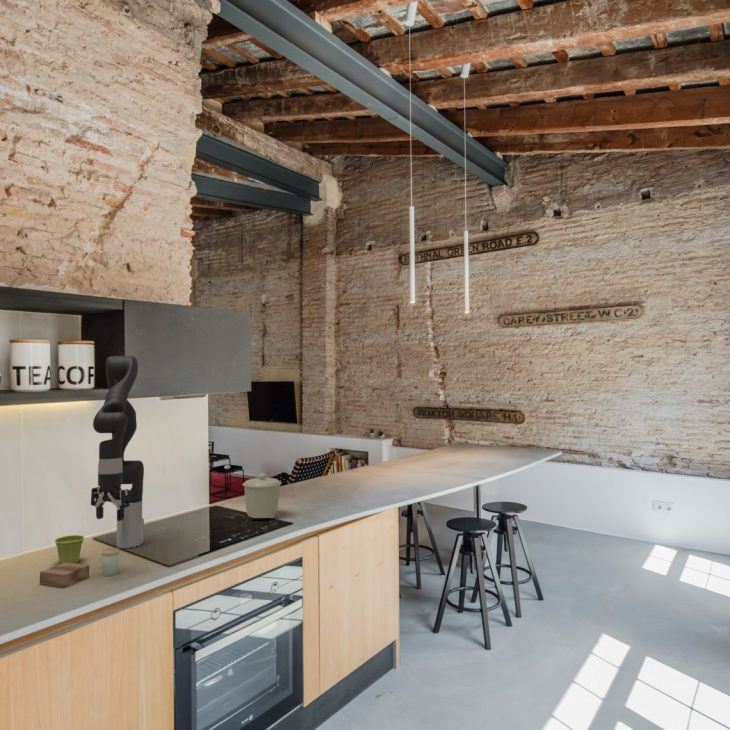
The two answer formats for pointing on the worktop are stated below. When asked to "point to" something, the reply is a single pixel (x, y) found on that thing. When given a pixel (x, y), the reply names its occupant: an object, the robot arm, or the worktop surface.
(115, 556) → the jar
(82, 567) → the plinth
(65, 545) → the plant pot
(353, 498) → the worktop surface
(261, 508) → the canister
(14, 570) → the worktop surface
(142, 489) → the robot arm
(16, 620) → the worktop surface
